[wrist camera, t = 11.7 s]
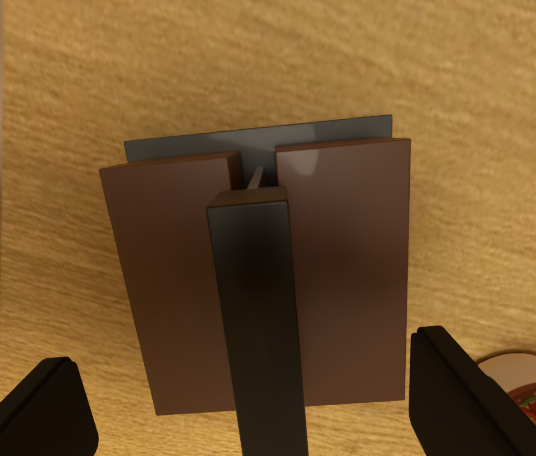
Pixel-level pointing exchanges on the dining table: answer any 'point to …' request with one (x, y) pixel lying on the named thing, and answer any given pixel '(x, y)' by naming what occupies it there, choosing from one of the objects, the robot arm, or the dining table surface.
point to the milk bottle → (515, 378)
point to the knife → (260, 315)
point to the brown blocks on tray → (303, 246)
